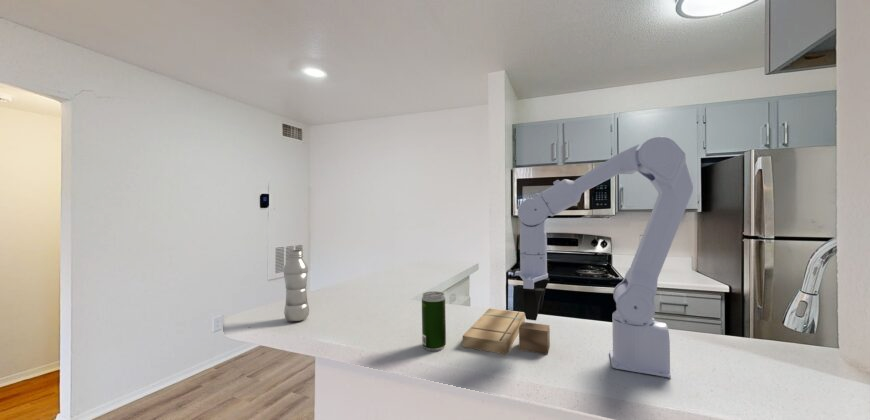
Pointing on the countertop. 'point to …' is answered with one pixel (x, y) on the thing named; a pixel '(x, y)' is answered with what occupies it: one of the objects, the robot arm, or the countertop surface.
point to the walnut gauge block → (534, 337)
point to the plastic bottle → (296, 287)
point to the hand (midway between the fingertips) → (534, 314)
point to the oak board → (494, 331)
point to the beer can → (433, 321)
